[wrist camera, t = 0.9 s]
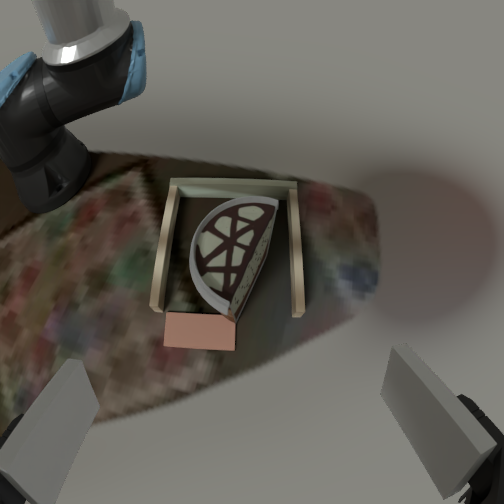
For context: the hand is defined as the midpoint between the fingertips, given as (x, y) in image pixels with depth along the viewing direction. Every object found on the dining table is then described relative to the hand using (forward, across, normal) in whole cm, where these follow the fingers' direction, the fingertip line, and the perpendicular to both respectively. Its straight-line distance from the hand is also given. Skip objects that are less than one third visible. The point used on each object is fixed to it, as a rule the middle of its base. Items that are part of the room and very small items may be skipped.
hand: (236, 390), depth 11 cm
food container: (+24, -1, -4) cm, 24 cm away
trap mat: (+20, -4, -8) cm, 22 cm away
